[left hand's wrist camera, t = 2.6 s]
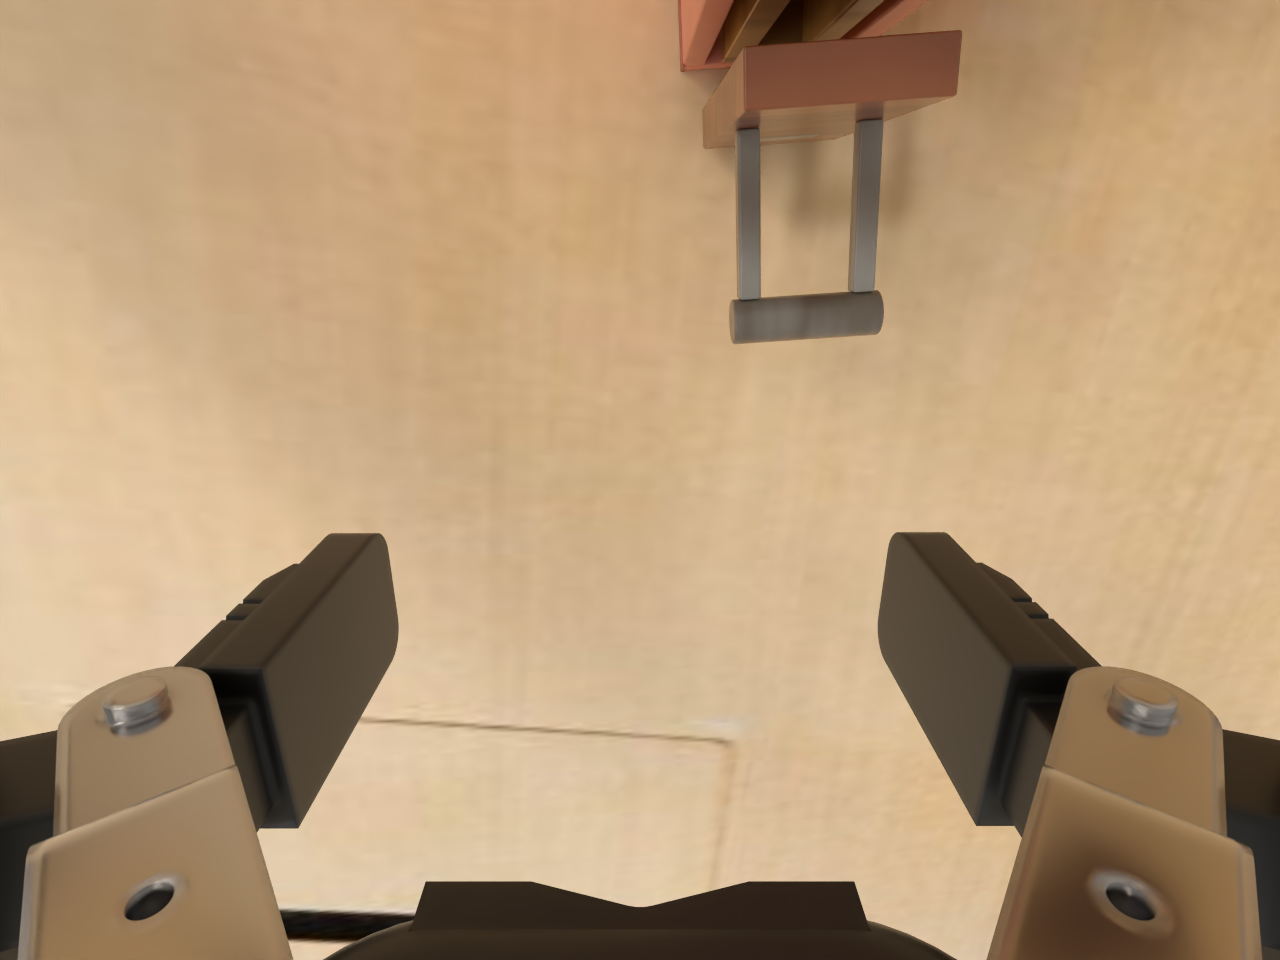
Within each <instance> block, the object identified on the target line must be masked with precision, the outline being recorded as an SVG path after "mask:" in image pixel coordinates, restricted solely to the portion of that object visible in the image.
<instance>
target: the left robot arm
mask: <svg viewBox="0 0 1280 960" xmlns="http://www.w3.org/2000/svg"><path fill="white" fill-rule="evenodd" d="M878 638H879V644H880V649H881V653H882V655H883V658H884V660H885V662H886V664H887V666H888V667H889V669H890V671H891V673H892V675H893V676H894V678H895V680H896V682H897V684H898V685H899V687H900V689H901V691H902V693H903V694H904V696H905V698H906V700H907V702H908V703H909V705H910V707H911V709H912V711H913V712H914V714H915V716H916V718H917V720H918V722H919V723H920V725H921V727H922V729H923V731H924V732H925V734H926V736H927V738H928V740H929V741H930V743H931V745H932V747H933V749H934V750H935V752H936V754H937V756H938V758H939V759H940V761H941V763H942V765H943V767H944V768H945V770H946V772H947V774H948V776H949V777H950V779H951V781H952V783H953V785H954V787H955V788H956V790H957V792H958V794H959V796H960V797H961V799H962V801H963V803H964V805H965V806H966V808H967V810H968V812H969V814H970V815H971V817H972V819H973V821H974V823H975V824H976V826H1015V827H1016V829H1017V831H1018V832H1019V834H1020V836H1021V837H1022V839H1021V843H1020V846H1019V850H1018V853H1017V857H1016V860H1015V864H1014V867H1013V871H1012V874H1011V877H1010V881H1009V884H1008V888H1007V891H1006V895H1005V898H1004V902H1003V905H1002V908H1001V912H1000V915H999V919H998V922H997V926H996V929H995V933H994V936H993V939H992V943H991V946H990V950H989V953H988V957H987V960H1280V740H1275V739H1270V738H1264V737H1259V736H1254V735H1249V734H1244V733H1239V732H1234V731H1229V730H1224V729H1222V727H1221V724H1220V722H1219V720H1218V718H1217V717H1216V716H1215V715H1214V713H1213V712H1212V711H1211V710H1210V709H1209V708H1208V707H1207V706H1206V705H1205V704H1203V703H1202V702H1201V701H1199V700H1198V699H1197V698H1195V697H1194V696H1192V695H1191V694H1189V693H1188V692H1186V691H1184V690H1183V689H1181V688H1179V687H1177V686H1175V685H1173V684H1171V683H1168V682H1166V681H1164V680H1161V679H1159V678H1156V677H1153V676H1150V675H1148V674H1144V673H1141V672H1137V671H1133V670H1128V669H1123V668H1116V667H1102V666H1101V665H1100V664H1099V663H1098V662H1097V661H1096V660H1095V659H1094V658H1093V657H1092V656H1091V655H1090V654H1089V653H1088V652H1087V651H1086V650H1084V649H1083V648H1082V647H1081V646H1080V645H1079V644H1078V643H1077V642H1076V641H1075V640H1074V639H1073V638H1072V637H1071V636H1070V635H1069V634H1068V633H1067V632H1066V631H1065V630H1064V629H1063V628H1062V627H1061V626H1060V625H1059V624H1058V623H1057V622H1056V621H1055V620H1054V619H1049V617H1048V614H1047V613H1046V612H1045V611H1044V610H1043V609H1042V608H1041V607H1040V606H1039V605H1038V604H1037V603H1036V602H1032V598H1031V597H1030V596H1029V595H1028V594H1027V593H1026V592H1025V591H1024V590H1023V589H1022V588H1021V587H1020V586H1019V585H1017V584H1016V583H1015V582H1014V581H1013V580H1012V579H1011V578H1009V577H1007V576H1005V575H1003V574H1002V573H1000V572H998V571H996V570H994V569H992V568H990V567H989V566H987V565H985V564H983V563H976V562H975V561H974V560H973V559H972V558H971V557H970V556H969V555H968V554H967V553H966V552H965V551H964V550H963V549H962V548H961V547H960V546H959V545H958V544H957V543H956V542H955V541H954V540H953V539H952V538H951V537H950V536H949V535H948V534H947V533H945V532H897V533H895V534H894V535H893V536H892V538H891V540H890V543H889V547H888V553H887V560H886V567H885V574H884V581H883V588H882V596H881V603H880V610H879V617H878ZM397 642H398V616H397V609H396V602H395V595H394V588H393V581H392V574H391V567H390V560H389V553H388V547H387V544H386V541H385V539H384V537H383V536H382V535H381V534H379V533H331V534H329V535H328V536H326V537H325V538H324V539H323V540H322V541H321V542H320V543H319V544H318V545H317V546H316V547H315V548H314V550H313V551H312V552H311V553H310V554H309V555H308V556H307V557H306V558H305V559H304V560H303V561H302V562H301V563H300V564H293V565H291V566H289V567H287V568H285V569H284V570H282V571H280V572H278V573H276V574H274V575H272V576H271V577H269V578H267V579H265V580H263V581H262V582H261V583H260V584H259V585H258V586H257V587H256V588H255V589H254V590H253V591H252V592H251V593H250V594H249V595H248V596H247V597H246V598H245V599H243V604H238V605H237V606H236V607H235V608H234V609H233V610H232V611H231V612H230V613H229V614H228V615H227V616H226V620H222V621H221V622H220V623H219V624H217V625H216V626H215V627H214V628H213V629H212V630H211V631H210V632H209V633H208V634H207V635H206V636H205V637H204V638H203V639H202V640H201V641H200V642H199V643H198V644H197V645H196V646H195V647H194V648H193V649H191V650H190V651H189V652H188V653H187V654H186V655H185V656H184V657H183V658H182V659H181V660H180V661H179V662H178V663H177V664H176V665H175V666H174V667H164V668H157V669H152V670H147V671H143V672H139V673H136V674H132V675H130V676H127V677H124V678H121V679H119V680H116V681H114V682H112V683H109V684H107V685H105V686H103V687H101V688H99V689H97V690H96V691H94V692H92V693H91V694H89V695H88V696H86V697H85V698H83V699H82V700H81V701H79V702H78V703H77V704H75V705H74V706H73V707H72V708H71V709H70V710H69V711H68V712H67V713H66V715H65V716H64V717H63V718H62V720H61V722H60V724H59V727H58V730H56V731H51V732H46V733H41V734H36V735H31V736H26V737H21V738H16V739H11V740H5V741H0V960H293V957H292V953H291V950H290V946H289V943H288V939H287V936H286V933H285V929H284V926H283V922H282V919H281V915H280V912H279V908H278V905H277V902H276V898H275V895H274V891H273V888H272V884H271V881H270V877H269V874H268V871H267V867H266V864H265V860H264V857H263V853H262V850H261V846H260V843H259V839H258V836H257V832H258V830H259V828H299V826H300V824H301V822H302V821H303V819H304V817H305V815H306V814H307V812H308V810H309V808H310V806H311V805H312V803H313V801H314V799H315V797H316V796H317V794H318V792H319V790H320V789H321V787H322V785H323V783H324V781H325V780H326V778H327V776H328V774H329V772H330V771H331V769H332V767H333V765H334V764H335V762H336V760H337V758H338V756H339V755H340V753H341V751H342V749H343V748H344V746H345V744H346V742H347V740H348V739H349V737H350V735H351V733H352V731H353V730H354V728H355V726H356V724H357V723H358V721H359V719H360V717H361V715H362V714H363V712H364V710H365V708H366V706H367V705H368V703H369V701H370V699H371V698H372V696H373V694H374V692H375V690H376V689H377V687H378V685H379V683H380V681H381V680H382V678H383V676H384V674H385V673H386V671H387V669H388V667H389V665H390V664H391V662H392V660H393V657H394V655H395V651H396V647H397ZM323 960H957V959H955V958H953V957H951V956H950V955H948V954H946V953H945V952H943V951H941V950H940V949H938V948H936V947H934V946H932V945H930V944H928V943H926V942H924V941H922V940H920V939H918V938H915V937H913V936H911V935H909V934H907V933H904V932H901V931H899V930H896V929H893V928H890V927H887V926H885V925H882V924H879V923H875V922H871V921H867V920H866V917H865V914H864V911H863V908H862V904H861V901H860V898H859V895H858V892H857V889H856V886H855V883H854V882H745V883H741V884H737V885H733V886H729V887H725V888H721V889H717V890H713V891H709V892H705V893H701V894H697V895H693V896H689V897H685V898H681V899H677V900H673V901H669V902H665V903H661V904H657V905H653V906H648V907H632V906H627V905H623V904H619V903H615V902H611V901H607V900H603V899H599V898H595V897H591V896H587V895H583V894H579V893H575V892H571V891H567V890H563V889H559V888H555V887H551V886H547V885H543V884H539V883H535V882H426V883H425V886H424V889H423V892H422V895H421V898H420V901H419V904H418V908H417V911H416V914H415V917H414V920H413V921H409V922H405V923H401V924H398V925H395V926H393V927H390V928H387V929H384V930H381V931H379V932H376V933H373V934H371V935H369V936H367V937H365V938H362V939H360V940H358V941H356V942H354V943H352V944H350V945H348V946H346V947H344V948H342V949H340V950H339V951H337V952H335V953H334V954H332V955H330V956H329V957H327V958H325V959H323Z"/></svg>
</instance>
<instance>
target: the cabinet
mask: <svg viewBox="0 0 1280 960" xmlns="http://www.w3.org/2000/svg"><path fill="white" fill-rule="evenodd" d="M927 1H928V0H884V1H883V2H882V3H881V4H880V5H878V6H877V7H876V8H875V9H874V10H873V11H871V12H870V13H869V14H868V15H867V16H866V17H864V18H863V19H862V20H861V21H860V22H858V23H857V24H856V25H855V26H854V27H853V28H851V29H850V30H849V31H848V32H847V33H846V34H844V35H843V36H842V37H841V38H840V39H848V38H861V37H875V36H880V35H881V34H883V33H884V32H885V31H887V30H888V29H890V28H891V27H892V26H894V25H895V24H896V23H898V22H899V21H901V20H902V19H903V18H905V17H906V16H908V15H909V14H910V13H912V12H913V11H914V10H916V9H917V8H919V7H920V6H921V5H923V4H924V3H926V2H927ZM733 2H734V0H678V13H679V39H680V65H681V72H683V71H688V70H701V69H715V68H728V67H731V66H732V65H733V63H734V62H732V63H722V42H721V28H722V26H723V23H724V21H725V19H726V17H727V15H728V13H729V10H730V8H731V6H732V4H733Z"/></svg>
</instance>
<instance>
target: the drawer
mask: <svg viewBox="0 0 1280 960" xmlns="http://www.w3.org/2000/svg"><path fill="white" fill-rule="evenodd" d="M883 1H884V0H734V2H733V4H732V6H731V8H730V10H729V13H728V15H727V17H726V19H725V21H724V23H723V26H722V28H721V42H722V63H732V62H734V63H733V65H732V66H731V68H730V69H729V71H728V72H727V74H726V75H725V77H724V78H723V80H722V81H721V83H720V84H719V86H718V87H717V89H716V91H715V92H714V94H713V95H712V97H711V98H710V100H709V101H708V103H707V104H706V106H705V107H704V109H703V111H702V113H703V147H704V149H710V148H723V147H735V172H736V241H737V296H738V298H739V299H735V300H732V301H731V303H730V311H729V323H730V335H731V340H732V343H733V344H743V343H758V342H773V341H788V340H802V339H817V338H832V337H847V336H862V335H876V334H878V333H879V332H880V330H881V327H882V323H883V316H884V307H883V300H882V296H881V294H880V292H879V291H877V290H874V283H875V265H876V247H877V229H878V210H879V192H880V174H881V156H882V138H883V122H884V121H887V120H889V119H892V118H895V117H898V116H901V115H903V114H906V113H909V112H912V111H914V110H917V109H920V108H923V107H925V106H928V105H931V104H934V103H936V102H939V101H942V100H945V99H947V98H950V97H953V96H955V95H956V93H957V84H958V72H959V61H960V50H961V38H962V31H960V30H954V31H941V32H928V33H914V34H901V35H888V36H875V37H861V38H848V39H840V38H841V37H842V36H843V35H844V34H846V33H847V32H848V31H849V30H850V29H851V28H853V27H854V26H855V25H856V24H857V23H858V22H860V21H861V20H862V19H863V18H864V17H866V16H867V15H868V14H869V13H870V12H871V11H873V10H874V9H875V8H876V7H877V6H878V5H880V4H881V3H882V2H883ZM851 133H854V155H853V179H852V203H851V227H850V251H849V275H848V290H849V291H852V292H838V293H823V294H809V295H794V296H779V297H765V298H760V297H761V246H760V145H765V144H779V143H792V142H806V141H820V140H834V139H837V138H840V137H843V136H845V135H848V134H851Z"/></svg>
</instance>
